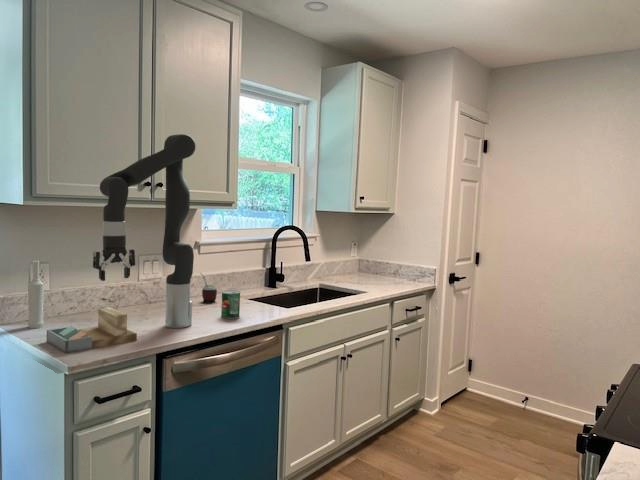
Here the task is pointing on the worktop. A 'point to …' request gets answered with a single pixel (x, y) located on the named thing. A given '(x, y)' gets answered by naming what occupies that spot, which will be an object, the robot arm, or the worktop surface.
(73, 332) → the tile
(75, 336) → the tile
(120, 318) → the cream wooden beam
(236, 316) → the canned tomato
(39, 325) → the bottle
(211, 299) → the mate gourd
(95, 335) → the board
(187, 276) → the robot arm
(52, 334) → the box
